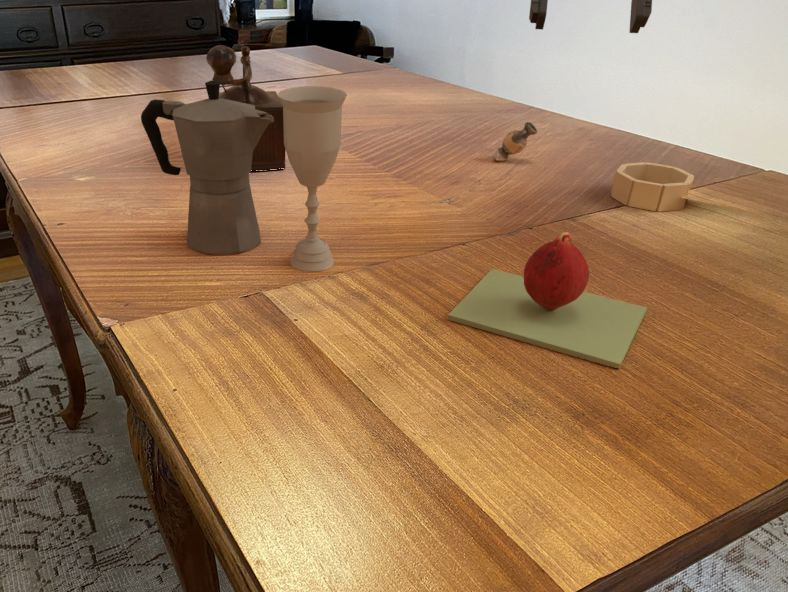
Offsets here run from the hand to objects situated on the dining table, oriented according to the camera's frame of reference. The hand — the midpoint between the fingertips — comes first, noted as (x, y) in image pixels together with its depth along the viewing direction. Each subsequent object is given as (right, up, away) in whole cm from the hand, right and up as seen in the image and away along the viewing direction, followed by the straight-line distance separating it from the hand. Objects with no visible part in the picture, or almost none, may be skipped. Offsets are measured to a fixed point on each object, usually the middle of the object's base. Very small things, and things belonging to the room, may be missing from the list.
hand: (588, 25), depth 65 cm
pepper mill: (-36, -2, +42) cm, 55 cm away
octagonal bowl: (+20, -9, +31) cm, 38 cm away
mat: (-3, -27, +3) cm, 27 cm away
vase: (+5, -1, +45) cm, 45 cm away
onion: (-3, -26, +3) cm, 27 cm away
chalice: (-26, -20, +14) cm, 36 cm away
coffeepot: (-37, -17, +19) cm, 45 cm away
